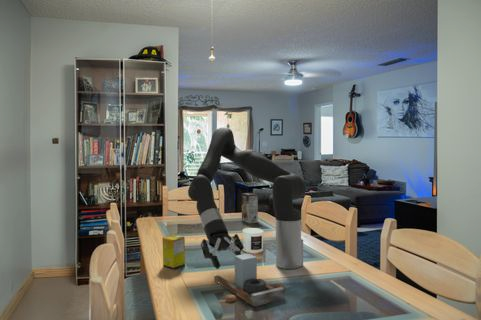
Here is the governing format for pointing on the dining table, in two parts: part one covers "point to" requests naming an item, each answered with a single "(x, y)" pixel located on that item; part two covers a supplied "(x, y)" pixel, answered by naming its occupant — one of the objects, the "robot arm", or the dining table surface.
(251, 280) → the rubber ring
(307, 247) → the dining table surface
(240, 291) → the guide channel
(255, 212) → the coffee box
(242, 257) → the gray block
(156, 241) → the dining table surface
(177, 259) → the supplement box
